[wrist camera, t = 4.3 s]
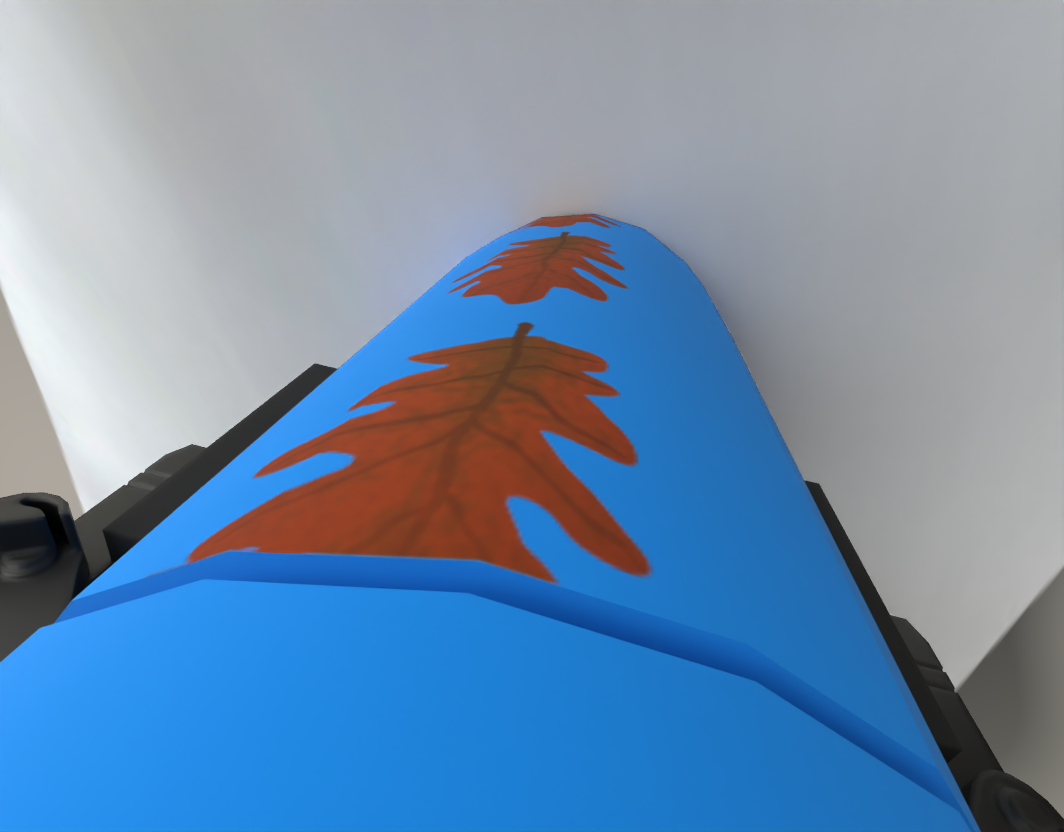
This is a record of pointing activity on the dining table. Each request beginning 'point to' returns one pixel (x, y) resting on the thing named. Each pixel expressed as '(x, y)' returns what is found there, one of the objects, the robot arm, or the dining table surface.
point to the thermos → (489, 597)
